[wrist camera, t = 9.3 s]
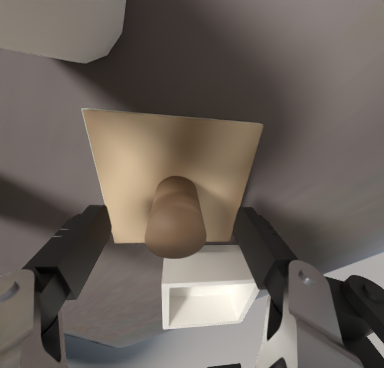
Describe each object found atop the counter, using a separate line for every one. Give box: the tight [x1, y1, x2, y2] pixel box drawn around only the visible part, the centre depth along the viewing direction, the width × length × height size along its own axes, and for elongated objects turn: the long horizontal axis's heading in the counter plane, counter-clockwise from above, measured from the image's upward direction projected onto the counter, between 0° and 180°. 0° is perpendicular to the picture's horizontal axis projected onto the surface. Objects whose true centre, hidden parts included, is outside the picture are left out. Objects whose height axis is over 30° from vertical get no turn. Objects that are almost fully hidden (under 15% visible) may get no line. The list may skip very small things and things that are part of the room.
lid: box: [82, 109, 264, 259], centre depth 10 cm, size 11×11×5 cm
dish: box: [162, 245, 259, 329], centre depth 18 cm, size 10×10×4 cm
